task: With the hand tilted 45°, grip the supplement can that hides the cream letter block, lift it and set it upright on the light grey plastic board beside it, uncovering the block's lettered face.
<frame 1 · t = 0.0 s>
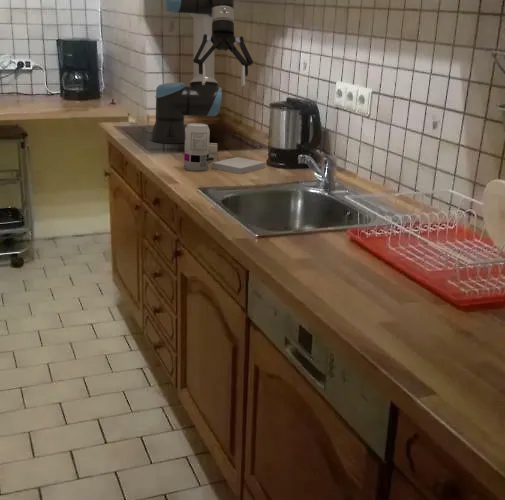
hand: (223, 84, 230), 28 cm above the worktop, tool tilted 20°, fingers open, 13 cm apart
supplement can: (196, 169, 231), on the worktop
letter block: (208, 160, 246), on the worktop
grey board: (238, 168, 237), on the worktop
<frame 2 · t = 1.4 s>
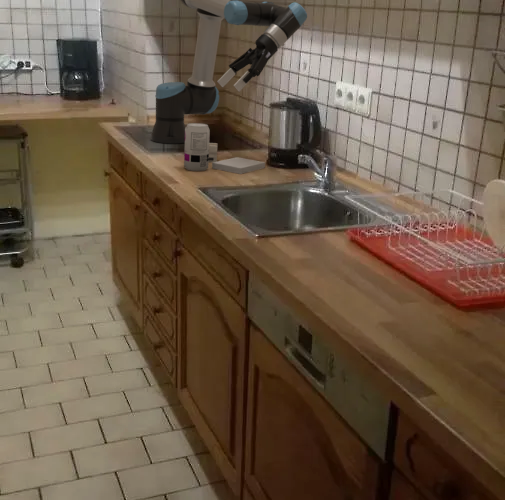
hand: (227, 86, 227), 28 cm above the worktop, tool tilted 45°, fingers open, 13 cm apart
nothing on the worktop moved.
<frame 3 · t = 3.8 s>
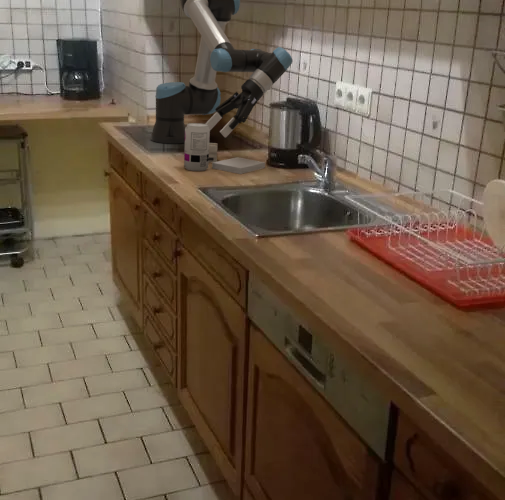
hand: (214, 131, 229), 13 cm above the worktop, tool tilted 45°, fingers open, 13 cm apart
nothing on the worktop moved.
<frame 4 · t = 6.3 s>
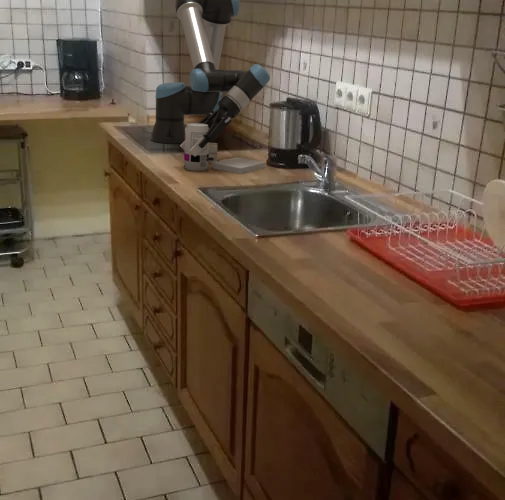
hand: (187, 151, 228), 6 cm above the worktop, tool tilted 45°, fingers closed on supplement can, 8 cm apart
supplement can: (196, 169, 231), on the worktop, touching gripper
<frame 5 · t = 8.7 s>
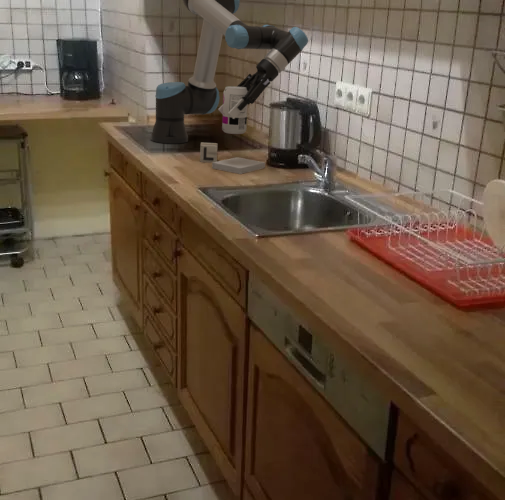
hand: (225, 114, 228), 19 cm above the worktop, tool tilted 45°, fingers closed on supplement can, 8 cm apart
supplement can: (234, 132, 232), point 12 cm above the worktop, touching gripper
when the fingers open (10 cm above the worktop, at t = 11.0 s): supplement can drops 1 cm, resting on grey board.
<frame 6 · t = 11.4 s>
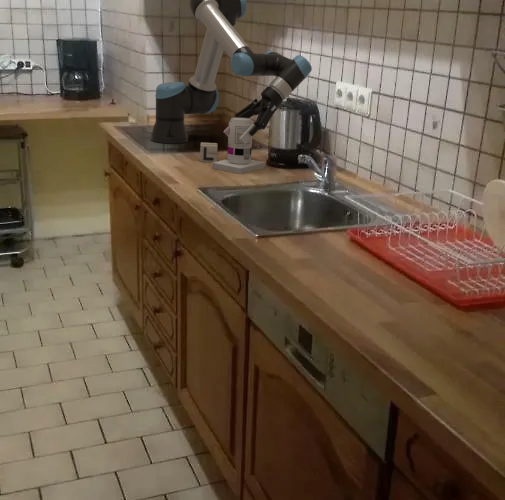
hand: (234, 137, 232), 11 cm above the worktop, tool tilted 45°, fingers open, 13 cm apart
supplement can: (239, 162, 236), point 2 cm above the worktop, touching grey board
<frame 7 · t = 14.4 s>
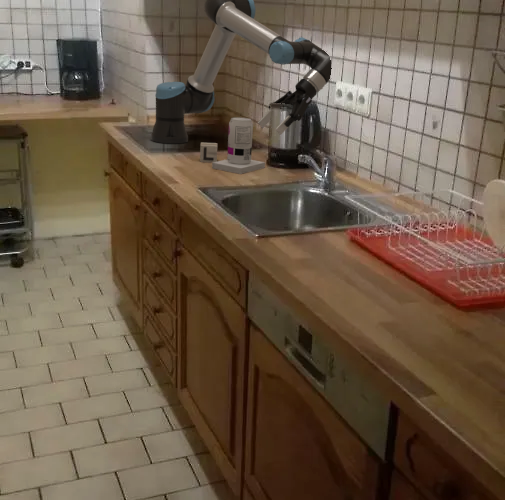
hand: (268, 128, 237), 14 cm above the worktop, tool tilted 45°, fingers open, 13 cm apart
nothing on the worktop moved.
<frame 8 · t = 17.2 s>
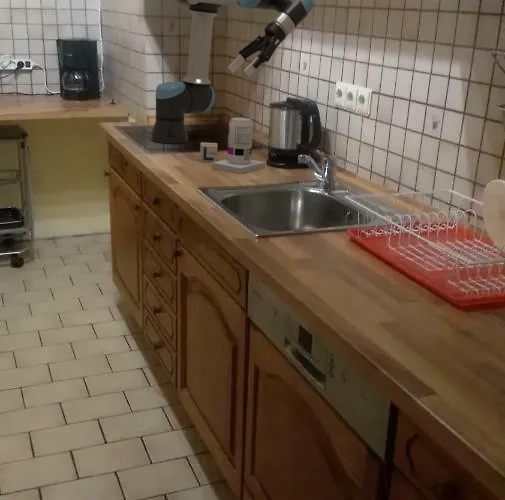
hand: (238, 72, 237), 32 cm above the worktop, tool tilted 45°, fingers open, 13 cm apart
nothing on the worktop moved.
at the end: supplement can inside the target area on the grey board (0.1 cm from its centre), point 1.8 cm above the grey board's base; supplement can tilted 0°; the gripper is holding nothing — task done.
